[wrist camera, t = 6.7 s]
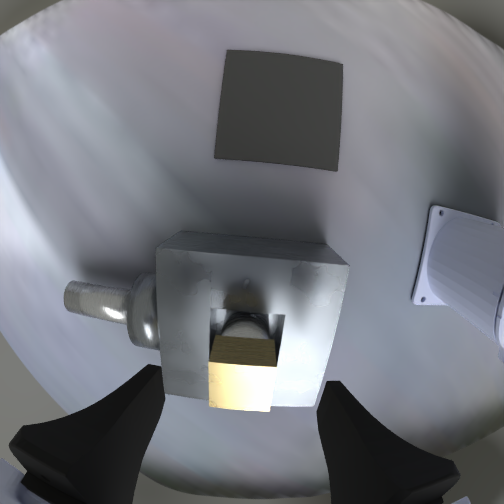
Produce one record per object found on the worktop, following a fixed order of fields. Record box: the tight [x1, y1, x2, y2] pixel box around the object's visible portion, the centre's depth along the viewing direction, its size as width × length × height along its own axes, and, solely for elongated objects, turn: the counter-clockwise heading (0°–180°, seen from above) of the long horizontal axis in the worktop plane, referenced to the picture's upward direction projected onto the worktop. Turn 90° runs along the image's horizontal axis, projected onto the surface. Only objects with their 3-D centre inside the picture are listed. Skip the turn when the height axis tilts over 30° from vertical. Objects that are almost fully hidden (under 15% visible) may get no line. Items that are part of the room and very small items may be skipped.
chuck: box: [64, 231, 350, 406], centre depth 17 cm, size 18×10×5 cm, turn 85°
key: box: [208, 310, 277, 411], centre depth 14 cm, size 3×3×7 cm
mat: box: [214, 50, 343, 171], centre depth 16 cm, size 8×8×1 cm
